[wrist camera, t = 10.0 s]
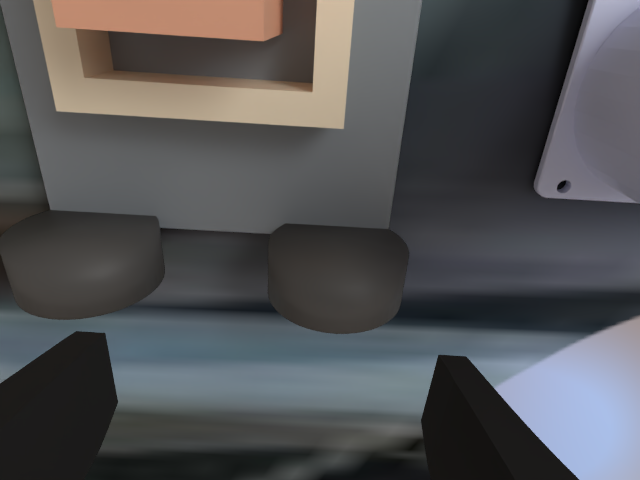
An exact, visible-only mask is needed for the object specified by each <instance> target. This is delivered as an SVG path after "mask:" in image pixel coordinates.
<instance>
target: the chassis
mask: <svg viewBox="0 0 640 480" xmlns="http://www.w3.org/2000/svg"><path fill="white" fill-rule="evenodd" d="M0 4H1V8H2V12H3V16H4V20H5V24H6V28H7V33H8V37H9V41H10V45H11V49H12V53H13V57H14V62H15V66H16V70H17V74H18V78H19V82H20V86H21V91H22V95H23V99H24V103H25V107H26V111H27V115H28V119H29V124H30V128H31V132H32V136H33V140H34V144H35V148H36V153H37V157H38V161H39V165H40V169H41V173H42V177H43V181H44V186H45V190H46V194H47V198H48V202H49V206H50V210H49V211H45V212H42V213H39V214H36V215H33V216H31V217H28V218H26V219H24V220H22V221H20V222H18V223H16V224H15V225H13V226H12V227H10V228H9V229H8V230H6V231H5V232H4V233H3V235H2V236H1V238H0V254H1V257H2V260H3V263H4V266H5V270H6V273H7V276H8V279H9V282H10V286H11V289H12V292H13V295H14V298H15V301H16V303H17V304H18V306H19V307H20V308H21V309H23V310H24V311H25V312H28V313H30V314H32V315H35V316H38V317H42V318H48V319H58V320H70V319H83V318H90V317H95V316H100V315H104V314H108V313H112V312H115V311H118V310H121V309H123V308H126V307H128V306H130V305H133V304H134V303H136V302H138V301H140V300H142V299H143V298H145V297H146V296H148V295H149V294H150V293H152V292H153V291H154V290H155V289H156V288H157V287H158V286H159V284H160V283H161V282H162V280H163V278H164V274H165V267H164V259H163V250H162V242H161V233H160V228H173V229H191V230H209V231H226V232H244V233H262V234H271V236H270V238H269V242H268V296H269V299H270V302H271V304H272V305H273V307H274V308H275V309H276V310H277V311H278V312H279V313H280V314H281V315H282V316H283V317H285V318H286V319H288V320H289V321H291V322H293V323H295V324H297V325H299V326H302V327H305V328H308V329H311V330H315V331H320V332H325V333H335V334H349V333H358V332H364V331H368V330H372V329H375V328H377V327H379V326H382V325H383V324H385V323H387V322H388V321H389V320H391V319H392V318H393V317H394V316H395V315H396V313H397V312H398V310H399V308H400V304H401V299H402V293H403V287H404V282H405V276H406V270H407V265H408V259H409V250H408V247H407V245H406V243H405V242H404V241H403V239H402V238H400V237H399V236H398V235H397V234H396V233H394V232H393V231H391V230H389V223H390V216H391V209H392V202H393V195H394V189H395V182H396V175H397V168H398V161H399V154H400V148H401V141H402V134H403V127H404V120H405V114H406V107H407V100H408V93H409V86H410V80H411V73H412V66H413V59H414V52H415V46H416V39H417V32H418V25H419V18H420V12H421V5H422V0H283V30H282V34H280V35H278V36H275V37H273V38H271V39H268V40H266V41H250V40H236V39H221V38H206V37H192V36H177V35H162V34H148V33H133V32H119V31H104V30H89V29H75V28H60V27H56V23H55V17H54V12H53V7H52V2H51V0H0Z"/></svg>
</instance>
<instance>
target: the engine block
mask: <svg viewBox="0 0 640 480" xmlns="http://www.w3.org/2000/svg"><path fill="white" fill-rule="evenodd" d="M51 2H52V7H53V12H54V17H55V23H56V27H60V28H75V29H89V30H104V31H119V32H133V33H148V34H162V35H177V36H192V37H206V38H221V39H236V40H250V41H266V40H268V39H271V38H273V37H275V36H278V35H280V34H282V30H283V0H51Z"/></svg>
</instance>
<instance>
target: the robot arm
mask: <svg viewBox="0 0 640 480" xmlns="http://www.w3.org/2000/svg"><path fill="white" fill-rule="evenodd" d="M564 180H566V184H565V186H564V187H563V188H561V189H558V190H557V186H558V184H559V183H560V182H561V181H564ZM534 189H535V191H536V192H537V193H538V194H539V195H541V196H542V197H545V198H559V199H576V200H593V201H610V202H627V203H639V204H640V0H589V1H588V4H587V8H586V11H585V14H584V18H583V21H582V24H581V28H580V31H579V34H578V38H577V41H576V44H575V48H574V51H573V54H572V58H571V61H570V64H569V68H568V71H567V74H566V78H565V81H564V84H563V88H562V91H561V94H560V98H559V101H558V104H557V108H556V111H555V114H554V118H553V121H552V124H551V128H550V131H549V134H548V138H547V141H546V144H545V148H544V151H543V154H542V158H541V161H540V164H539V168H538V171H537V174H536V178H535V181H534ZM117 403H118V400H117V395H116V389H115V384H114V378H113V373H112V368H111V362H110V357H109V351H108V346H107V340H106V335H105V333H95V332H79V331H76V332H75V333H73V334H71V335H70V336H68V337H67V338H65V339H64V340H62V341H61V342H59V343H58V344H56V345H55V346H54V347H52V348H51V349H49V350H48V351H46V352H45V353H43V354H42V355H41V356H39V357H38V358H36V359H35V360H33V361H32V362H31V363H29V364H28V365H26V366H25V367H23V368H22V369H21V370H19V371H18V372H16V373H15V374H13V375H12V376H11V377H9V378H8V379H6V380H5V381H3V382H2V383H0V480H84V478H85V476H86V474H87V473H88V471H89V469H90V467H91V465H92V463H93V461H94V459H95V457H96V455H97V453H98V451H99V449H100V447H101V445H102V442H103V440H104V437H105V435H106V432H107V430H108V427H109V425H110V422H111V419H112V417H113V414H114V411H115V409H116V406H117ZM421 423H422V430H423V437H424V444H425V451H426V457H427V463H428V469H429V473H430V476H431V480H579V479H578V478H577V477H576V476H575V475H574V474H573V473H572V472H571V471H570V470H569V469H568V468H567V467H566V466H565V465H564V464H563V463H562V462H561V461H560V460H559V459H558V458H557V457H556V456H555V455H554V454H553V453H552V452H551V451H550V450H549V449H548V448H547V446H546V445H545V444H544V443H543V442H542V441H541V440H540V439H539V438H538V437H537V436H536V435H535V434H534V433H533V432H532V431H531V429H530V428H529V427H528V426H527V425H526V424H525V423H524V422H523V421H522V420H521V419H520V417H519V416H518V415H517V414H516V413H515V412H514V411H513V410H512V409H511V407H510V406H509V405H508V404H507V403H506V402H505V401H504V399H503V398H502V397H501V396H500V395H499V394H498V392H497V391H496V390H495V389H494V388H493V387H492V386H491V384H490V383H489V382H488V381H487V380H486V379H485V377H484V376H483V375H482V374H481V373H480V372H479V371H478V369H477V368H476V367H475V366H474V365H473V364H472V363H471V361H470V360H469V359H468V358H467V357H464V356H449V355H438V359H437V363H436V366H435V370H434V374H433V378H432V381H431V385H430V389H429V393H428V397H427V400H426V404H425V408H424V412H423V415H422V419H421Z"/></svg>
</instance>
